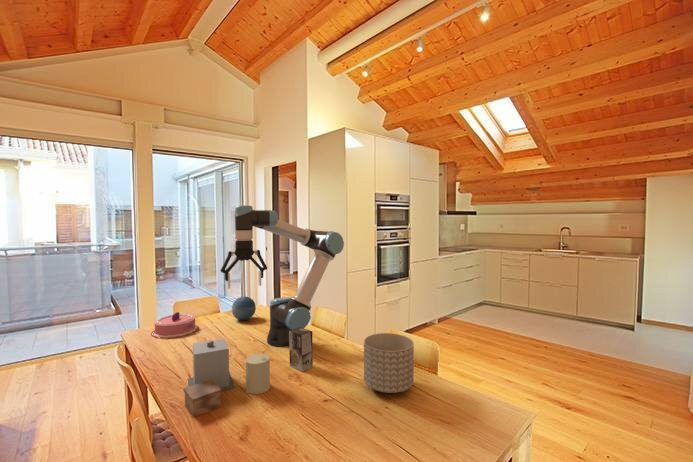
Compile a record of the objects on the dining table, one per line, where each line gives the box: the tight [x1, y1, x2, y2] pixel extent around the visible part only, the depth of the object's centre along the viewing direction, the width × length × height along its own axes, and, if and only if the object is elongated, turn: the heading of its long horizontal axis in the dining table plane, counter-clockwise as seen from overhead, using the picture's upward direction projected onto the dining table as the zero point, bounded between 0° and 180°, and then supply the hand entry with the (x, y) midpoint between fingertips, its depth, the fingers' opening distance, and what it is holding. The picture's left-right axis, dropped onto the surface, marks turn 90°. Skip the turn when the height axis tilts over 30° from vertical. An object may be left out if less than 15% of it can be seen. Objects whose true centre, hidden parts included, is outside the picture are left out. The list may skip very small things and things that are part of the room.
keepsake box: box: [183, 380, 223, 418], centre depth 116 cm, size 10×10×6 cm
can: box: [245, 353, 271, 395], centre depth 129 cm, size 9×9×12 cm
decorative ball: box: [231, 296, 257, 321], centre depth 215 cm, size 15×15×15 cm
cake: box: [150, 312, 200, 339], centre depth 194 cm, size 25×25×11 cm
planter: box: [363, 332, 415, 394], centre depth 129 cm, size 19×19×18 cm
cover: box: [192, 338, 230, 388], centre depth 132 cm, size 12×12×16 cm
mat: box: [187, 371, 236, 391], centre depth 132 cm, size 16×16×1 cm
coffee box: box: [288, 327, 314, 372], centre depth 147 cm, size 9×6×16 cm
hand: (244, 286), depth 151 cm, fingers open, 13 cm apart
